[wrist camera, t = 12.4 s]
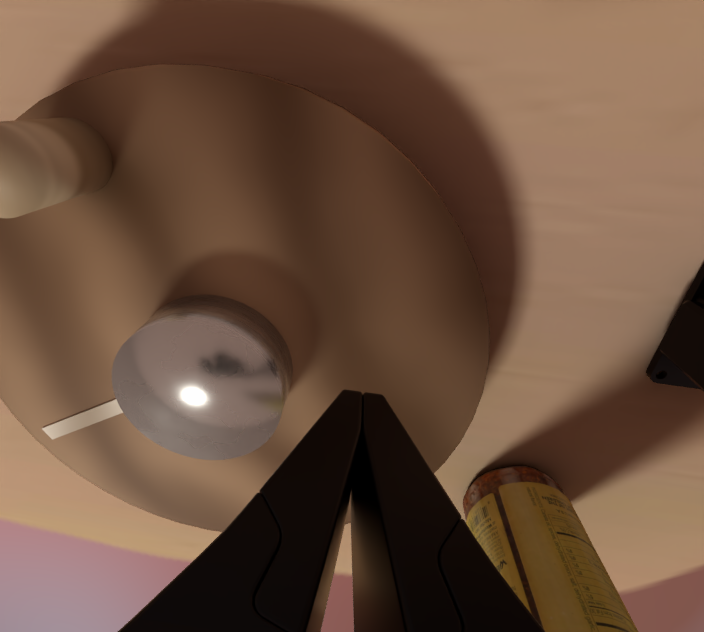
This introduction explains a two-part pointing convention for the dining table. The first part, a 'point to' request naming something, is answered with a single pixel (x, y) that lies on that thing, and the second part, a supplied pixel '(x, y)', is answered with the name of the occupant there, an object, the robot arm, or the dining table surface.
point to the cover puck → (204, 377)
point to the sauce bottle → (543, 551)
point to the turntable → (224, 269)
